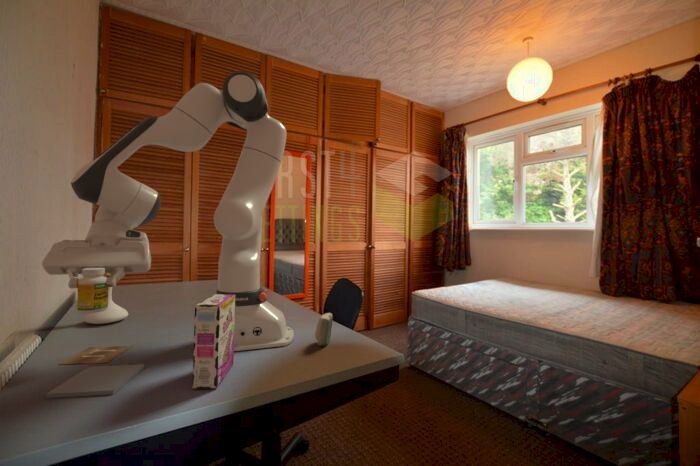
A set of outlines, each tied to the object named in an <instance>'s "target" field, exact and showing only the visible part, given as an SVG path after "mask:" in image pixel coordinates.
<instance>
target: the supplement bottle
mask: <svg viewBox="0 0 700 466" xmlns="http://www.w3.org/2000/svg"><path fill="white" fill-rule="evenodd" d="M104 273H105V268H85V269H82V274H81V276H82V277H81V278H79V281H78V288H77V301H76V303H77V304H76V305H77V313H79V314H88V313H96V312H101V311H104V310H106V309H107V307H108V287H107V285H106V281H107V278H108V277H107V276H104V275H105V274H104Z"/></svg>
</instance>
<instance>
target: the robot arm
mask: <svg viewBox="0 0 700 466" xmlns="http://www.w3.org/2000/svg"><path fill="white" fill-rule="evenodd" d="M268 106H269V105H268V102H267V96H266V91H265V89H264V87H263V85H262V83H261V81H260V80H259V79H258V78H257V77H256V76H255V75H254V74H252V73H250V72H248V71H245V70H238V71H233V72H231V73H230V74H228V75H227V76H226V78H225V79H224V80H223V84H222V89H221V90H220V89H218V88H217V87H215V86H214V85H212V84H209V83H206V82H200V83H197V84H196V85H195V86H193V87H192V88H190V89H189V90H188V91H187V92H186V93H185V94H184V95H183V96H182V97H181V98H180V99H179V101H178V102H177V103H176V104H175V106H174V107H172V109H171V110H170V111H169V112H168V113H166V114H164V115H163V116H160V117H156V116H152V115H151V116H148V117H146V118H143V119H142V120H141V121H139V122H137V124H135V125H134V126H132V127H131V128H130V129H129V130H128V131H126V132H125V133H124V134H123V135H122V136H120V137H118V138H117V140H116V141H115V142H113V143H112V144H111V145H110V146H108V147H107V149H105V150H104V151H103V152H102V153H100V154H99V155H98V156H97V157H95V158H94V159H92V161H90V162H89V163H86V164H85V165H83V166H82V167H81V168H79V169H78V170H77V171H76V172H75V174H74V175H73V177H72V180H71V182H70V186H71V188H72V190H73V193H75V195H76V197H78V199H79V200H81V201H82V200H83V201H85V202H88V203H90V204H92V205H97V206H99V207H98V209H97V211H96V213H95V216H94V221H93V222H92V224H91V225H90V227H89V229H88V231H87V234H86V237H85V239H74V240H71V239H63V240H62V241H58V242H55V243H53V244H52V246H51V248H50V250H49V251H48V253H47V254H46V255H45V257H44V258H43V260H42V261H41V266H42V269H44V271H45V272H46V273H47V274H48V275H51V276H52V275H54V276H55V275H56V276H57V275H61V276H62V275H68V278H69V281H68V285H67V286H68V288H69V289H71V290H72V289H78V281H79V279H80V278H79V277H78V276H79V275H82V269H85V268H105V273H108V274H112V273H114V274H113V276H112V277H110V276H108V277H106V278H107V281H106V285H107V287H112V288H116V286H117V283H118V282H119V281H120V280H121V279H123V278H124V277H125V276H126V275H125V274H140V273H142V274H143V273H144V274H145V273H147V272H149V271H150V269H151V266H152V255H151V251H150V241H149V238H148V235H147V233H145V232H143V231H139V230H136V229H134V228H140V227H143V226H146V225H148V224H149V223H151V222H152V221H154V220H155V218H156V217H157V215H158V213H159V211H160V208H161V206H162V199H161V196H160V193H159V192H158V191H156V190H155V189H153V188H151V187H150V186H148V185H146V184H144V183H142V182H140V181H138V180H136V179H134V178H132V177H130V176H129V175H127V174H125V173H123V172H121V171H120V170H119V169H118V167H120V166H121V165H122V164H123V163H124V162H125V161H126V160H128V159H129V158H130V157H131V156H132V155H134V153H136V152H137V151H138V150H139V149H140V148H142V147H144V146H149V145H153V146H160V147H164V148H168V149H172V150H175V151H179V152H186V153H187V152H188V153H191V152H193V153H194V152H197V151H200V150H201V149H203V148H204V147H205V146H206V144H208V142H209V141H210V140H211V139H212V137H213V135H214V134H215V133H216V131H217V130H218V128H220V126H222V124H224V123H227V124H228V125H229V126H230V127H233V128H236V129H240V130H242V131H245V132H246V136H245V137H246V138H245V141H244V143H243V146H242V149H241V153H240V155H239V158H238V160H237V164H236V165H235V166H236V167H235V169H234V172H233V175H232V177H231V179H230V181H229V183H228V185H227V187H226V188H225V190H224V193H223V195H222V197H221V200H220V202H219V204H218V206H217V207H216V209H215V210H214V214H213V224H214V227H215V229H216V231H217V232H218V233H219V234H220V235H221V236H222V239H221V240H222V241H221V249H220V254H219V257H218V258H219V259H218V271H217V272H218V273H217V277H218V278H217V289H216V292H215V294H233V295H236V296H235V325H234V352H238V351H239V352H240V351H246V350H247V351H248V350H257V349H265V348H266V349H267V348H269V349H270V348H274V347H275V348H276V347H277V348H278V347H285V346H288V345H289V344H291V343H292V341H293V340H294V337H295V335H294V334H295V333H294V330H293V328H291V327H289V326H287V322H286V318H285V315H284V313H283V311H282V310H280V309H278V308H277V307H275V306H274V304H273V305H272V304H271V303H270V302H268V301H267V299H268V298H267V297H268V292H267V289H263V288H262V287H260V282H261V280H260V279H261V276H260V275H261V252H262V238H263V237H262V235H263V234H262V233H263V231H262V230H263V217H262V215H263V213H264V209H265V208H266V205H267V202H268V200H269V197H270V195H271V192H272V191H273V187H274V185H275V183H276V179H277V175H278V172H279V169H280V166H281V163H282V161H283V157H284V153H285V148H286V143H287V129H286V127H285V125H283V123H282V122H281V121H280V120H278V119H276V118H274V117H271V116H270V115H269V114H268V112H269V107H268ZM105 273H104V275H105ZM115 273H116V274H115Z"/></svg>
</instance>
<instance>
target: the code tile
mask: <svg viewBox="0 0 700 466" xmlns="http://www.w3.org/2000/svg"><path fill="white" fill-rule="evenodd" d="M130 348H133V345H117V346H116V345H113V346H90V347H87V348H85V349H83V350H82V351H80V352H79V353H76V354H75V355H73V356H71V357H69V358H67V359H65V360H63V361H62V362H59V363H58V366H65V365H87V364H89V365H91V364H93V365H95V364H108V363H109V362H111V361H113V360H114V359H116V358H117V357H119V356H120V355H122V354H123V353H125V352H126V351H127V350H128V351H129V350H130Z"/></svg>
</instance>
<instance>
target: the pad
mask: <svg viewBox="0 0 700 466" xmlns="http://www.w3.org/2000/svg"><path fill="white" fill-rule="evenodd" d="M145 366H146V365H145V364H141V363H140V364H120V365H119V364H118V365H99V366H98V365H96V366H88V367H86V368H85V369H84V370H82V371H80V372H78V373H77V374H75V375H74V376H72V377H70V378H69V379H68V380H65V381H64V382H63V383H61V384H60V385H58V386H56V387H54V388H53V389H52V390H50V391H48V392H47V393H46V394H45V395H46V397H45V398H46V399H55V398H56V399H57V398H58V399H59V398H72V397H73V398H75V397H88V396H89V397H90V396H91V397H92V396H94V397H95V396H108V395H109V396H111V395H115V394H116V393H117V392H118V391H119V390H120V389H122V388H123V387H124V386H126V384H128V383H129V382H130V381H131V380H132V379H133V378H135V377H136V376H137V375H138V374H139V373H140V372H142V371H143V370H144V369H145Z"/></svg>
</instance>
